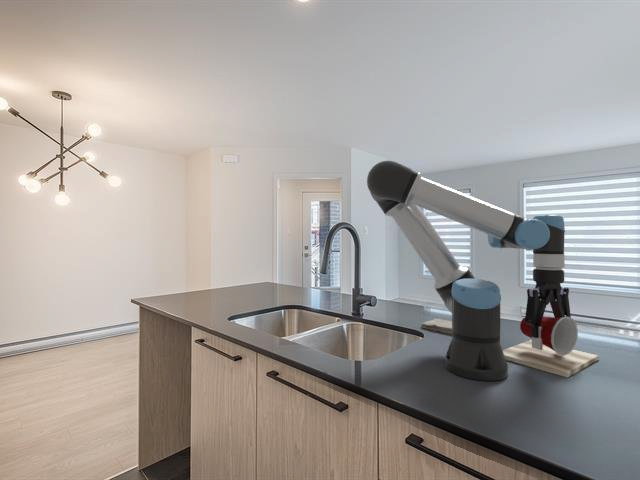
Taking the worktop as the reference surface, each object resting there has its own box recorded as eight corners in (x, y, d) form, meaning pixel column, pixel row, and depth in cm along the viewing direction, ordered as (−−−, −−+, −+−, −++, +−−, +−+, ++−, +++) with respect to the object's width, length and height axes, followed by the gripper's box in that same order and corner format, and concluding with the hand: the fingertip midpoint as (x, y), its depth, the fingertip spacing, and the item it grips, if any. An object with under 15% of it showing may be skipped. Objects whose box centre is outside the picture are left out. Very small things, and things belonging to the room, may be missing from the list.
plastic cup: (531, 349, 103) (571, 363, 92) (508, 333, 100) (547, 346, 89) (545, 318, 105) (586, 327, 94) (523, 302, 102) (562, 309, 91)
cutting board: (567, 377, 83) (567, 372, 83) (495, 356, 98) (495, 352, 98) (598, 359, 96) (598, 355, 96) (530, 343, 111) (530, 340, 111)
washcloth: (434, 324, 139) (434, 316, 139) (478, 332, 126) (478, 324, 126) (419, 329, 131) (419, 321, 131) (464, 339, 118) (464, 330, 118)
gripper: (561, 266, 104) (560, 340, 104) (509, 268, 97) (509, 346, 97) (587, 268, 96) (586, 347, 96) (533, 270, 90) (533, 355, 90)
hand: (548, 347), depth 97 cm, fingers closed on plastic cup, 8 cm apart
